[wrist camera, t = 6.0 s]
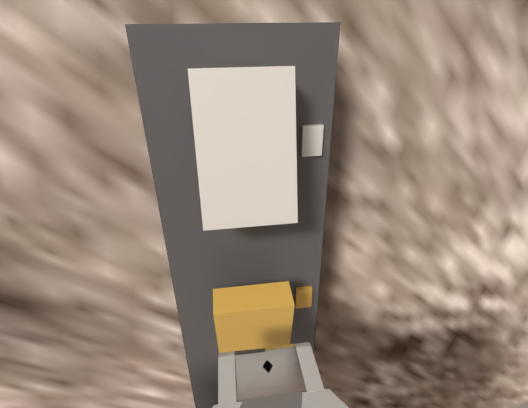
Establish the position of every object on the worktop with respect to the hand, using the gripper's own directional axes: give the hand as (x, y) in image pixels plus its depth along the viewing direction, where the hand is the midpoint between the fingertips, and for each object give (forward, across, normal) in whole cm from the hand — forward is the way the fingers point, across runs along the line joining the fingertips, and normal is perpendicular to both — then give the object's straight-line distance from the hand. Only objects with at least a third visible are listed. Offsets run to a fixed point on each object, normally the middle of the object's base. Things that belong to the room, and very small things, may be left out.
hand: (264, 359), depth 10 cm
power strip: (+9, 0, -4) cm, 10 cm away
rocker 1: (+4, 0, +6) cm, 7 cm away
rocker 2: (+4, 0, -2) cm, 5 cm away
